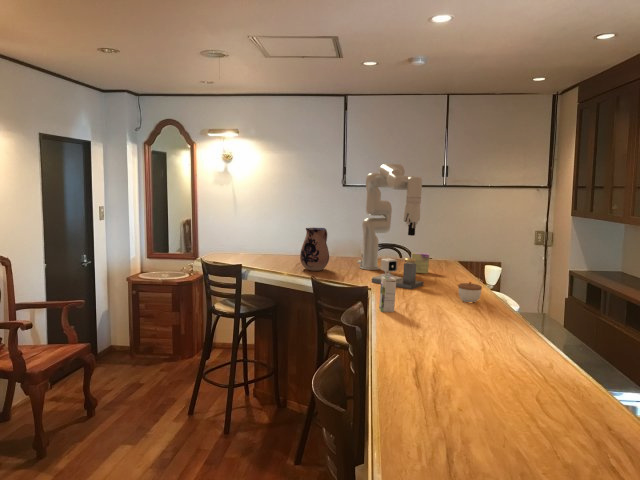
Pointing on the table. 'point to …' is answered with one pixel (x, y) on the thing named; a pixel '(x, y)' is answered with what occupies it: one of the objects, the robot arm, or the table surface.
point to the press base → (404, 278)
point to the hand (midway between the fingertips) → (411, 235)
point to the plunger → (410, 260)
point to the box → (421, 262)
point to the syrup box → (387, 294)
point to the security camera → (388, 266)
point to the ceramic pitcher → (315, 249)
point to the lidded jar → (469, 292)
